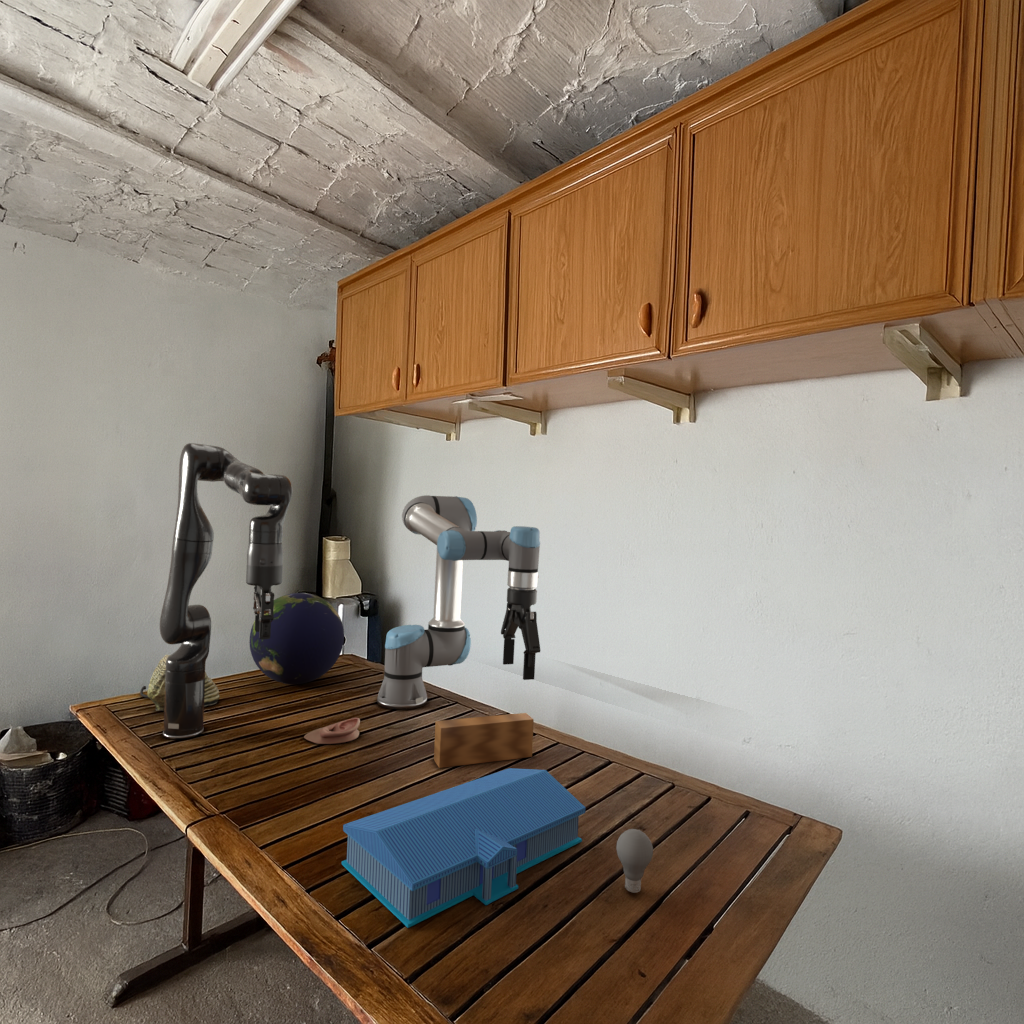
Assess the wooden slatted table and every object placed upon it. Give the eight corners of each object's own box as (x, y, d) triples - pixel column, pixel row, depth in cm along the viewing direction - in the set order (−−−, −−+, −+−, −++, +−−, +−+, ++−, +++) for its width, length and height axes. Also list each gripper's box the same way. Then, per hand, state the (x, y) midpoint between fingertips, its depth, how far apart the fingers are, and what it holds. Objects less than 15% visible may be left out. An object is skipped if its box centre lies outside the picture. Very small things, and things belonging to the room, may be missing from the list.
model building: (420, 939, 92) (422, 871, 92) (340, 863, 110) (342, 805, 110) (595, 848, 118) (598, 795, 118) (507, 798, 136) (509, 752, 136)
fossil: (144, 707, 182) (145, 655, 182) (212, 696, 194) (213, 647, 194) (151, 716, 175) (153, 662, 175) (221, 703, 188) (223, 653, 188)
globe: (227, 687, 204) (230, 594, 203) (291, 666, 231) (294, 584, 231) (301, 702, 192) (305, 604, 192) (360, 678, 220) (363, 592, 220)
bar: (439, 768, 151) (440, 728, 150) (433, 759, 155) (435, 721, 155) (532, 756, 159) (533, 719, 159) (524, 749, 164) (526, 712, 164)
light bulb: (610, 879, 108) (613, 822, 108) (644, 879, 109) (647, 822, 109) (619, 902, 102) (622, 840, 102) (655, 901, 103) (658, 840, 103)
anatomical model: (298, 725, 162) (320, 711, 174) (297, 741, 162) (319, 726, 174) (346, 731, 160) (365, 717, 171) (345, 747, 160) (365, 731, 171)
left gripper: (287, 566, 137) (284, 640, 138) (277, 559, 150) (275, 627, 150) (250, 566, 134) (247, 643, 134) (243, 559, 146) (241, 629, 147)
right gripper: (557, 596, 149) (552, 685, 150) (517, 580, 173) (513, 657, 173) (528, 596, 147) (523, 687, 147) (491, 580, 170) (487, 658, 170)
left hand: (262, 635), depth 142 cm, fingers open, 8 cm apart
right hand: (517, 671), depth 160 cm, fingers open, 13 cm apart
